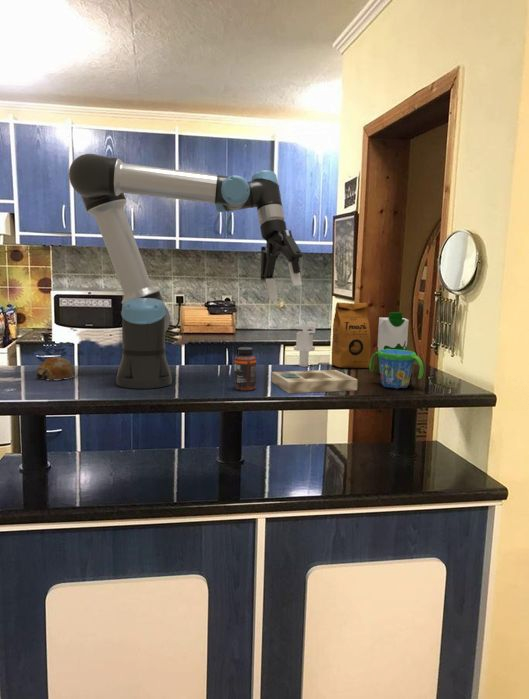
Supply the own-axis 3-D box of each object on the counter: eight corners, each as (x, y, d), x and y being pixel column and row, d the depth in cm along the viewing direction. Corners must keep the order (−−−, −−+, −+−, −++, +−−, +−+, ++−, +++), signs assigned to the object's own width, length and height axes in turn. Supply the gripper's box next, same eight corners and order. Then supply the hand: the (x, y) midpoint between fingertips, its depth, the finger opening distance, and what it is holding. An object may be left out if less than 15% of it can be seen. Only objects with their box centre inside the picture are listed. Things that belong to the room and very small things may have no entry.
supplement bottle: (257, 387, 159) (257, 346, 157) (254, 391, 153) (255, 349, 152) (235, 386, 160) (236, 346, 158) (232, 390, 154) (233, 349, 152)
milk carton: (380, 377, 178) (383, 312, 175) (373, 371, 187) (376, 310, 184) (408, 377, 178) (411, 313, 175) (400, 372, 187) (403, 311, 184)
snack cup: (428, 388, 163) (431, 353, 161) (410, 394, 155) (412, 356, 153) (380, 380, 173) (382, 346, 171) (361, 385, 165) (363, 350, 164)
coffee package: (372, 369, 190) (375, 303, 187) (336, 369, 189) (338, 303, 186) (363, 364, 200) (366, 301, 197) (328, 364, 199) (331, 301, 195)
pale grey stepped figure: (314, 367, 191) (316, 323, 189) (293, 367, 192) (295, 322, 189) (313, 364, 198) (314, 321, 196) (293, 363, 198) (294, 320, 196)
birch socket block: (288, 393, 152) (288, 381, 152) (271, 382, 166) (272, 370, 166) (357, 390, 158) (357, 378, 157) (335, 379, 172) (335, 368, 172)
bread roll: (70, 392, 163) (82, 367, 164) (35, 379, 159) (47, 353, 159) (65, 385, 172) (77, 361, 173) (32, 373, 168) (43, 348, 168)
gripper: (305, 205, 158) (319, 278, 155) (263, 239, 180) (275, 304, 177) (282, 204, 155) (296, 279, 151) (242, 239, 176) (253, 305, 173)
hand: (285, 293), depth 164 cm, fingers open, 13 cm apart
